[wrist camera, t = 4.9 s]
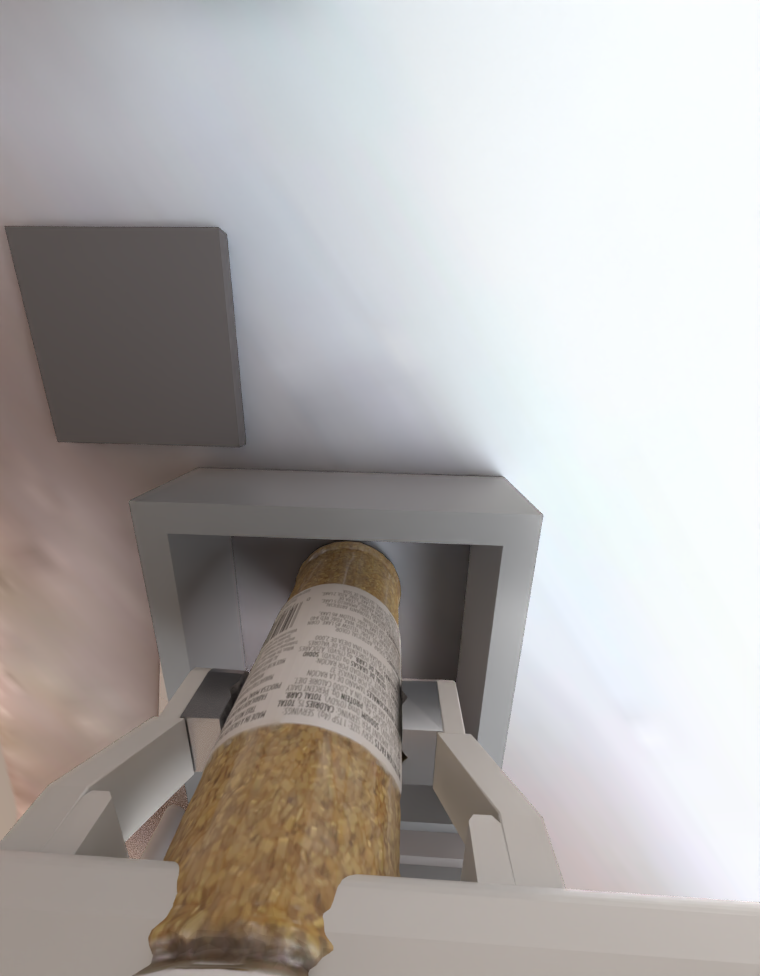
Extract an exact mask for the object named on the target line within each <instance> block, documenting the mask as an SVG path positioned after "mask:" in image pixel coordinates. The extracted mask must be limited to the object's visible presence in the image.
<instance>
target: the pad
mask: <svg viewBox="0 0 760 976" xmlns="http://www.w3.org/2000/svg"><path fill="white" fill-rule="evenodd" d="M5 230H6V234H7V238H8V242H9V246H10V250H11V254H12V258H13V263H14V267H15V271H16V275H17V279H18V283H19V287H20V291H21V295H22V299H23V303H24V307H25V311H26V315H27V319H28V323H29V327H30V331H31V336H32V340H33V344H34V348H35V352H36V356H37V360H38V364H39V368H40V372H41V376H42V380H43V384H44V388H45V392H46V396H47V400H48V404H49V408H50V413H51V417H52V421H53V425H54V429H55V433H56V437H57V441H58V442H76V443H112V444H148V445H184V446H220V447H241V446H243V445H245V444H246V438H245V427H244V416H243V405H242V394H241V383H240V372H239V361H238V350H237V340H236V329H235V318H234V307H233V296H232V285H231V274H230V263H229V252H228V241H227V234H226V233H225V232H223V231H222V230H221V229H220V228H219V227H53V226H5Z"/></svg>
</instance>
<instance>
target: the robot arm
mask: <svg viewBox="0 0 760 976" xmlns="http://www.w3.org/2000/svg"><path fill="white" fill-rule="evenodd" d="M248 675H249V672H247V671H243V670H230V669H217V668H199V667H195V668H194V669H193V670H191V671H190V672H189V674H188V675H187V677H186V678H185V680H184V681H183V683H182V684H181V685H180V687H179V688H178V690H177V691H176V693H175V694H174V695H173V697H172V698H171V700H170V701H169V703H168V704H167V705H166V707H165V708H164V710H163V711H162V713H161V714H160V715H159V717H152V718H150V719H149V720H147V721H146V722H144V723H143V724H141V725H140V726H138V727H137V728H135V729H133V730H132V731H130V732H129V733H127V734H126V735H124V736H123V737H121V738H120V739H118V740H117V741H115V742H114V743H112V744H111V745H109V746H107V747H106V748H104V749H103V750H101V751H100V752H98V753H97V754H95V755H94V756H92V757H91V758H89V759H88V760H86V761H85V762H83V763H81V764H80V765H78V766H77V767H75V768H74V769H72V770H71V771H69V772H68V773H66V774H65V775H63V776H62V777H60V778H59V779H57V780H55V781H54V782H52V783H51V784H49V785H48V786H47V787H46V788H45V790H44V791H43V792H42V793H41V794H40V795H39V797H38V798H37V799H36V800H35V801H34V803H33V804H32V805H31V806H30V807H29V808H28V810H27V811H26V812H25V813H24V814H23V815H22V817H21V818H20V819H19V820H18V821H17V823H16V824H15V825H14V826H13V827H12V828H11V830H10V831H9V832H8V833H7V834H6V836H5V837H4V838H3V839H2V840H1V841H0V976H132V975H134V974H136V973H137V972H139V971H140V970H142V969H144V968H145V967H147V966H149V965H150V964H151V961H152V957H153V954H152V952H151V949H150V946H149V941H148V937H149V935H150V932H151V930H152V929H153V928H155V927H156V926H157V925H158V924H159V923H160V922H162V921H163V920H164V919H165V918H166V917H167V915H168V913H169V912H170V910H171V908H172V907H173V903H174V900H175V897H176V895H177V879H178V876H179V865H178V863H176V862H174V861H160V860H146V859H131V858H129V855H128V852H127V848H126V845H125V842H126V841H127V840H128V839H129V838H130V837H131V836H132V835H133V834H134V833H135V832H136V831H137V830H138V829H139V828H140V827H141V826H142V825H143V824H144V823H145V822H146V821H147V820H148V819H149V818H150V817H151V816H152V815H153V814H154V813H155V812H156V811H157V810H158V809H159V808H160V807H161V806H162V805H163V804H164V803H165V802H166V801H167V800H168V799H169V798H170V797H171V796H172V795H173V794H174V793H175V792H177V791H178V790H179V789H180V788H181V787H182V786H183V785H184V784H185V783H186V782H187V781H188V780H189V779H190V778H191V777H192V776H193V775H194V772H203V769H204V766H205V764H206V761H207V759H208V757H209V755H210V753H211V751H212V749H213V747H214V745H215V743H216V741H217V739H218V737H219V734H220V732H221V730H222V728H223V726H224V724H225V722H226V720H227V718H228V716H229V714H230V712H231V710H232V708H233V706H234V704H235V702H236V700H237V698H238V696H239V693H240V691H241V689H242V687H243V685H244V683H245V681H246V679H247V677H248ZM401 709H402V714H401V743H402V783H404V784H415V785H426V786H433V789H434V791H435V793H436V795H437V796H438V798H439V800H440V802H441V803H442V805H443V807H444V809H445V811H446V812H447V814H448V816H449V818H450V819H451V821H452V823H453V825H454V826H455V828H456V830H457V832H458V834H459V835H460V837H461V839H462V841H463V842H464V844H465V852H464V859H463V866H462V873H461V880H460V881H449V880H434V879H420V878H405V877H391V876H376V875H362V874H355V875H350V876H347V877H346V878H344V879H343V880H342V881H341V883H340V884H339V885H338V888H337V891H336V894H335V897H334V901H333V903H332V906H331V908H330V909H329V910H328V911H326V912H325V913H324V914H323V920H324V931H325V935H326V936H327V938H328V939H329V941H330V942H331V943H332V945H333V951H332V952H330V953H329V954H327V955H326V956H324V957H323V958H322V959H321V960H320V961H319V962H318V964H317V965H316V966H314V967H313V968H312V969H310V970H309V973H308V976H760V902H750V901H736V900H721V899H707V898H693V897H678V896H664V895H649V894H635V893H621V892H606V891H592V890H578V889H566V887H565V884H564V881H563V878H562V875H561V872H560V869H559V866H558V863H557V860H556V856H555V853H554V850H553V847H552V844H551V841H550V838H549V835H548V832H547V829H546V826H545V823H544V820H543V817H542V816H541V815H540V814H539V813H538V811H537V810H536V809H535V808H534V807H533V806H532V804H531V803H530V802H529V801H528V800H527V799H526V797H525V796H524V795H523V794H522V793H521V792H520V790H519V789H518V788H517V787H516V786H515V785H514V783H513V782H512V781H511V780H510V779H509V778H508V776H507V775H506V774H505V773H504V772H503V771H502V770H501V768H500V767H499V766H498V765H497V764H496V763H495V761H494V760H493V759H492V758H491V757H490V756H489V754H488V753H487V752H486V751H485V750H484V749H483V747H482V746H481V745H480V744H479V743H478V742H477V740H476V739H475V738H474V737H473V736H472V735H471V734H465V729H464V724H463V718H462V713H461V708H460V703H459V698H458V693H457V687H456V683H455V681H454V680H432V679H407V678H401Z"/></svg>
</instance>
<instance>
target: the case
mask: <svg viewBox="0 0 760 976" xmlns="http://www.w3.org/2000/svg"><path fill="white" fill-rule="evenodd" d="M129 506H130V511H131V516H132V521H133V526H134V531H135V536H136V541H137V546H138V551H139V556H140V561H141V566H142V571H143V576H144V581H145V587H146V592H147V597H148V602H149V607H150V612H151V617H152V622H153V627H154V632H155V637H156V642H157V647H158V652H159V657H160V662H161V667H162V672H163V678H164V683H165V688H166V693H167V698H168V703H169V701H170V700H171V698H172V697H173V695H174V694H175V693H176V691H177V690H178V688H179V687H180V685H181V684H182V683H183V681H184V680H185V678H186V677H187V675H188V674H189V672H190V671H191V670H193V669H194V668H195V667H199V668H217V669H230V670H243V671H246V664H245V655H244V646H243V637H242V629H241V620H240V611H239V602H238V593H237V584H236V575H235V566H234V557H233V548H232V540H231V536H249V537H277V538H304V539H331V540H358V541H386V542H413V543H440V544H467V545H471V546H470V556H469V566H468V575H467V585H466V595H465V605H464V614H463V624H462V634H461V644H460V653H459V663H458V673H457V682H456V687H457V693H458V698H459V703H460V708H461V713H462V718H463V724H464V729H465V734H471V735H472V736H473V737H474V738H475V739H476V740H477V742H478V743H479V744H480V745H481V746H482V747H483V749H484V750H485V751H486V752H487V753H488V754H489V756H490V757H491V758H492V759H493V760H494V761H495V763H496V764H497V765H498V766H499V767H500V768H501V770H502V764H503V758H504V752H505V746H506V740H507V734H508V728H509V721H510V715H511V709H512V703H513V697H514V691H515V685H516V679H517V673H518V666H519V660H520V654H521V648H522V642H523V636H524V630H525V624H526V618H527V612H528V605H529V599H530V593H531V587H532V581H533V575H534V569H535V563H536V557H537V550H538V544H539V538H540V532H541V526H542V520H543V514H542V513H541V512H540V511H539V510H538V509H537V508H536V507H535V506H534V505H533V504H531V503H530V502H529V501H528V500H527V499H526V498H525V497H524V496H523V495H522V494H521V493H520V492H519V491H518V490H517V489H516V488H515V487H514V486H513V485H512V484H511V483H510V482H509V481H508V480H507V479H506V478H505V477H497V476H463V475H430V474H396V473H363V472H330V471H296V470H263V469H229V468H197V469H195V470H193V471H191V472H188V473H186V474H184V475H182V476H180V477H178V478H176V479H174V480H172V481H170V482H168V483H165V484H163V485H161V486H159V487H157V488H155V489H153V490H151V491H149V492H147V493H144V494H142V495H140V496H138V497H136V498H134V499H132V500H130V501H129ZM202 773H203V772H194V775H193V776H192V777H191V778H190V779H189V780H188V781H187V782H186V783H185V789H186V794H187V799H188V804H189V802H190V800H191V798H192V797H193V795H194V793H195V790H196V788H197V786H198V784H199V782H200V780H201V777H202ZM400 810H401V821H400V847H399V849H400V864H399V871H400V877H405V878H420V879H434V880H449V881H460V880H461V873H462V866H463V859H464V852H465V844H464V842H463V841H462V839H461V837H460V835H459V834H458V832H457V830H456V828H455V826H454V825H453V823H452V821H451V819H450V818H449V816H448V814H447V812H446V811H445V809H444V807H443V805H442V803H441V802H440V800H439V798H438V796H437V795H436V793H435V791H434V789H433V786H426V785H415V784H404V783H402V792H401V797H400ZM184 813H185V810H184V809H183V808H182V807H180V806H178V805H169V806H168V807H167V808H166V810H165V812H164V813H163V815H162V817H161V819H160V821H159V823H158V825H157V827H156V829H155V830H154V832H153V834H152V836H151V838H150V840H149V842H148V844H147V845H146V847H145V849H144V851H143V853H142V855H141V857H140V859H146V860H160V861H163V859H164V857H165V855H166V853H167V850H168V848H169V846H170V844H171V842H172V839H173V838H174V836H175V833H176V830H177V828H178V826H179V823H180V821H181V819H182V817H183V815H184Z"/></svg>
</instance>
